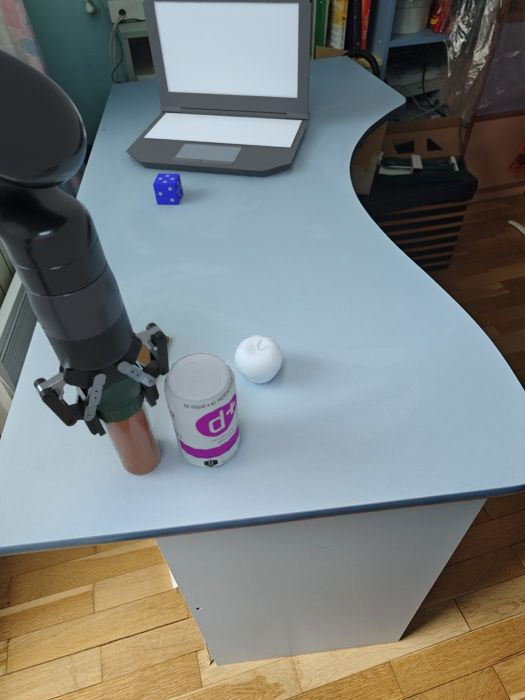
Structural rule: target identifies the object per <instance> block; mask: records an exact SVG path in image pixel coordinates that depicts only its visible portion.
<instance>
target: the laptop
mask: <svg viewBox="0 0 525 700" xmlns="http://www.w3.org/2000/svg"><path fill="white" fill-rule="evenodd" d="M141 5H142V9H143V14H144V20H145V25H146V31H147V37H148V42H149V47H150V53H151V58H152V64H153V69H154V76H155V80H156V86H157V91H158V97H159V98H158V99H159V103H160V108H159V109H160V114H158V115H157V117H155V118H154V120H153V121H152V122H151V123H149V125H148V126H147V127H146V128H145V130H144V131H143V132H142V133H141V134H140V135H139V136H138V137H137V138H136V139H135V141H133V142H132V143H131V145H130V146H129V147H128V148H127V149H126V150H125V153H127V154H128V155H129V156H130V157H131V158H133V159H134V161H136V162H137V163H138V164H140V165H141V167H143V168H145V169H155V170H156V169H157V170H169V171H182V172H192V173H193V172H194V173H205V174H206V173H209V174H210V173H211V174H219V175H231V176H232V175H233V176H246V177H258V178H265V177H269V176H272V175H275V174H279V173H282V172H285V171H286V170H287V169H288V168H289V167H290V165H291V164H292V162H293V160H294V157H295V154H296V152H297V149H298V147H299V145H300V143H301V140H302V138H303V135H304V133H305V130H306V128H307V126H308V122H309V121H310V112H309V104H310V99H309V98H310V69H311V38H312V37H311V35H312V8H313V7H312V5H313V4H312V2H311V1H310V0H143V1H142V4H141Z"/></svg>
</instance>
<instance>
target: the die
mask: <svg viewBox="0 0 525 700" xmlns="http://www.w3.org/2000/svg"><path fill="white" fill-rule="evenodd" d="M152 187H153V191H154V195H155V200H156V205H172V206H173V205H174V206H176V205H177V206H178V205H179V204H180V202H181V200H182V197H183V195H184V192H183V191H184V190H183V185H182V180H181V174H180V173H166V172H165V173H159V172H158V173H157V175H156V177H155V179H154V180H153V183H152Z"/></svg>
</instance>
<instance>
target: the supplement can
mask: <svg viewBox="0 0 525 700" xmlns="http://www.w3.org/2000/svg"><path fill="white" fill-rule="evenodd" d="M163 393H164V397H165V400H166V403H167V408H168V412H169V415H170V418H171V422H172V425H173V430H174V433H175V437H176V440H177V444H178V447H179V450H180V452H181V455H182V457H183V458H184V459H185V460H186V461H188V463H189V464H192V465H193V466H196V467H198V468H209V469H210V468H214V467H219V466H222V465H224V464H225V463H227V462H229V461H230V460H231V459H232V458H233V457H234V456H235V454H236V453H237V452H238V449H239V446H240V443H241V438H240V437H241V436H240V435H241V433H240V423H239V422H240V421H239V412H238V410H239V409H238V399H237V397H238V396H237V386H236V376H235V374H234V372H233V370H232V368H231V366H230V365H228V364H227V363H226V361H225V360H224V359H222V358H221V357H220V356H219V355H217V354H215V353H212V352H210V351H194V352H189V353H186V354H184V355H182V356H180V357H179V358H178V359H176V360H175V361H174V362H173V363H172V364H171V366H170V367H169V371H168V373H167V374H166V377H165V379H164V382H163Z"/></svg>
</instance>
